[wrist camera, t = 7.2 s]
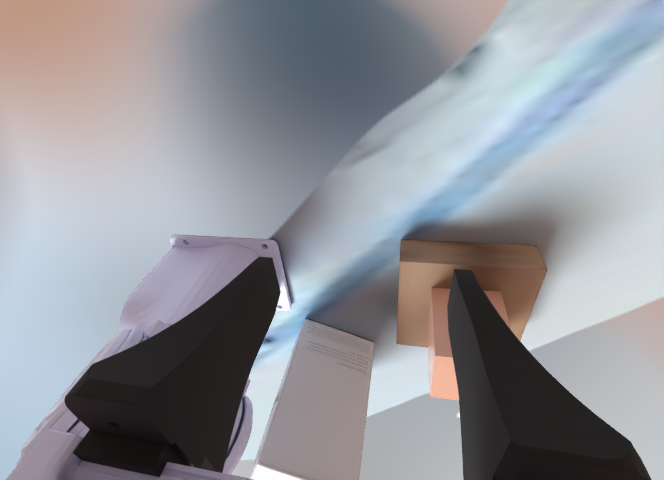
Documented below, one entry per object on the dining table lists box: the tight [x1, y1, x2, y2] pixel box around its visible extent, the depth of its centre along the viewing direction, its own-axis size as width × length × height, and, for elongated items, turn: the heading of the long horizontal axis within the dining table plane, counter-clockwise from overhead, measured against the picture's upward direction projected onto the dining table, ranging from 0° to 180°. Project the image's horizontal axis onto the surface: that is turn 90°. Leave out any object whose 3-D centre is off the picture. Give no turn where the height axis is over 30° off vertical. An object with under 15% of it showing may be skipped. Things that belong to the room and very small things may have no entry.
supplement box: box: [249, 319, 375, 480], centre depth 30 cm, size 7×7×13 cm
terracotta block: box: [428, 288, 512, 400], centre depth 23 cm, size 4×4×6 cm
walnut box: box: [397, 240, 547, 347], centre depth 26 cm, size 9×9×3 cm
